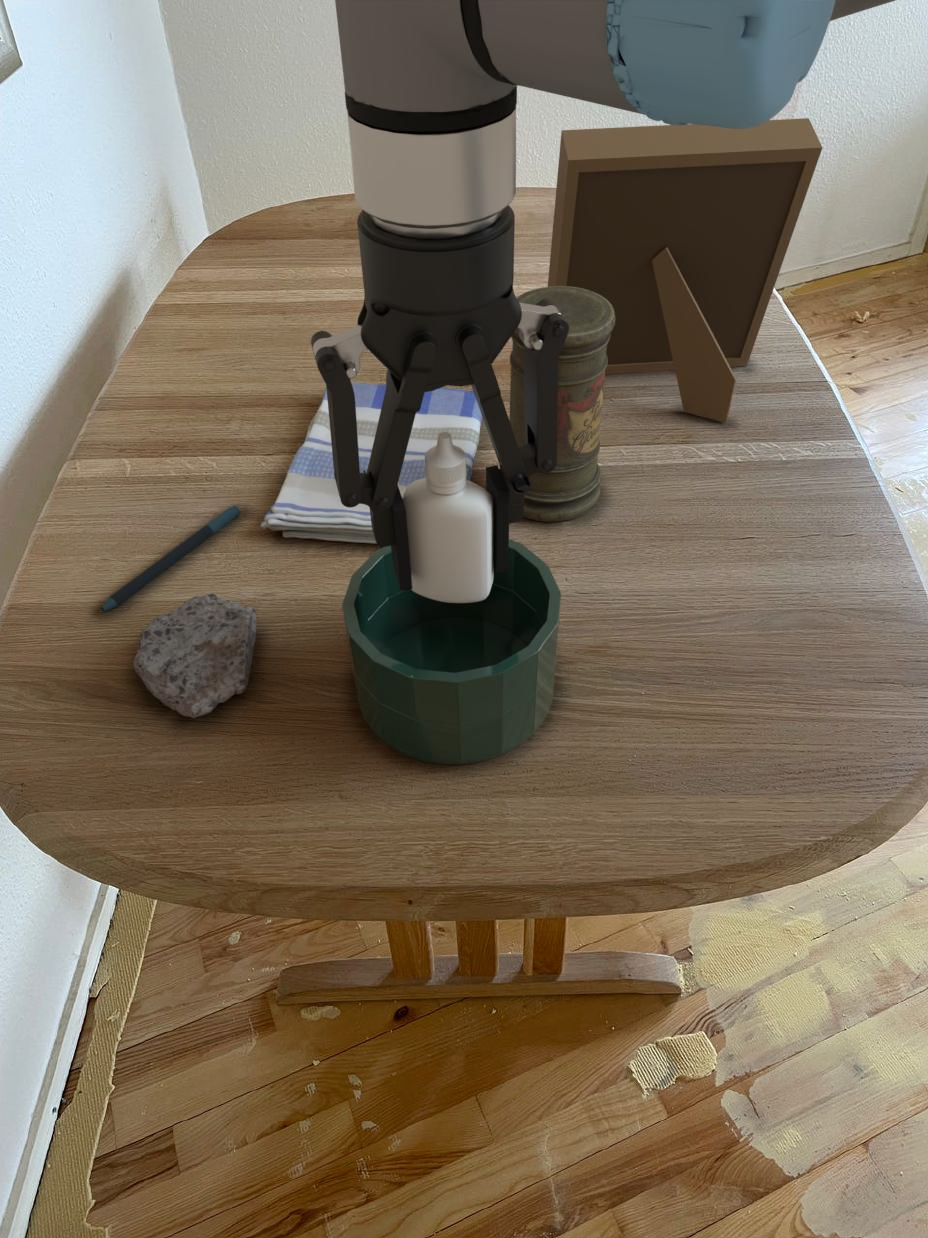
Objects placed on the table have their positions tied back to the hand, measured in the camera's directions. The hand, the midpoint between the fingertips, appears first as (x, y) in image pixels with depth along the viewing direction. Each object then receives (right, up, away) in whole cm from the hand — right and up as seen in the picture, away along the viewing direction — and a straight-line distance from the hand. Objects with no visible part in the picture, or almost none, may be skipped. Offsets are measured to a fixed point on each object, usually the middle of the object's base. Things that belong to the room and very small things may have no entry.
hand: (450, 566), depth 60 cm
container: (+9, +8, +24) cm, 27 cm away
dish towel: (-7, +11, +28) cm, 30 cm away
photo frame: (+21, +21, +36) cm, 47 cm away
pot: (0, -8, +8) cm, 12 cm away
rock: (-19, -7, +10) cm, 23 cm away
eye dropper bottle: (0, -1, +1) cm, 2 cm away
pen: (-24, +1, +19) cm, 31 cm away
